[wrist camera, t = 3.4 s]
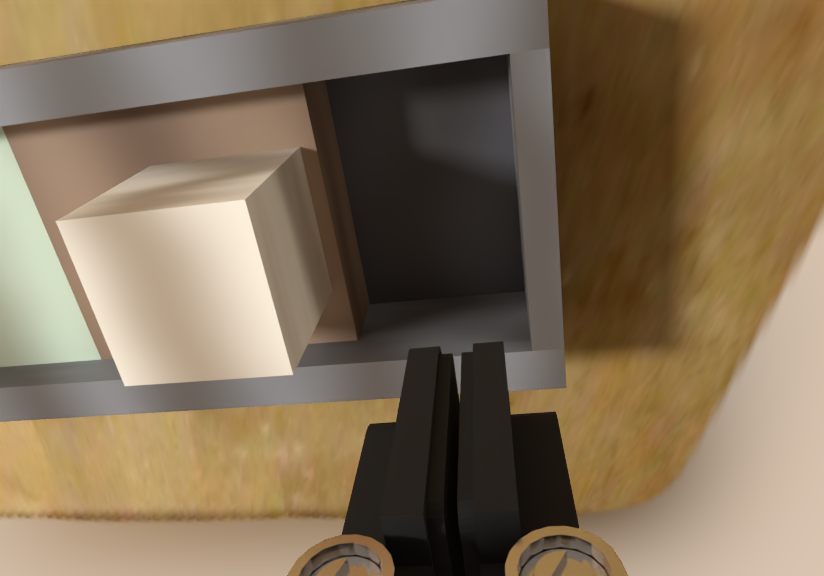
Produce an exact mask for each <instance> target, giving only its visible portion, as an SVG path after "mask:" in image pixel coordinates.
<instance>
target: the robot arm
mask: <svg viewBox="0 0 824 576" xmlns="http://www.w3.org/2000/svg"><path fill="white" fill-rule="evenodd" d="M287 576H628V575H627V572H626V570H625V568H624V566H623V564H622V562H621V560H620V558H619V557H618V555H617V554H616V552H615V551H614V549H613V548H612V547H611V546H610V545H608V544H607V543H606V542H605V541H603V540H602V539H601V538H600V537H598V536H596V535H594V534H592V533H590V532H588V531H585V530H583V529H579V525H578V519H577V514H576V509H575V504H574V499H573V494H572V489H571V484H570V479H569V474H568V469H567V464H566V459H565V454H564V449H563V444H562V439H561V434H560V429H559V424H558V419H557V415H556V412H544V413H529V414H514V415H511V413H510V403H509V393H508V383H507V372H506V362H505V352H504V342H503V341H497V342H485V343H473V352H462V353H461V384H460V402H459V394H458V387H457V380H456V373H455V365H454V358H453V354H452V353H449V354H442V352H441V348H440V346H436V347H424V348H412V349H409V352H408V357H407V363H406V369H405V374H404V380H403V386H402V391H401V397H400V403H399V408H398V414H397V420H396V422H392V423H377V424H370V425H369V426H368V429H367V432H366V435H365V440H364V444H363V448H362V452H361V456H360V461H359V465H358V469H357V473H356V477H355V481H354V486H353V490H352V494H351V498H350V502H349V507H348V511H347V515H346V519H345V523H344V528H343V532H342V535H339V536H336V537H332V538H329V539H326V540H323V541H322V542H320V543H318V544H316V545H315V546H313V547H311V548H310V549H308V550H307V551H306V552H305V553H304V554H303V555H302V556H301V557H299V558H298V560H297V561H296V562H295V564H294V566H293V567H292V568H291V570H290V572H289V573H288V575H287Z"/></svg>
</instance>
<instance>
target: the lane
mask: <svg viewBox="0 0 824 576" xmlns="http://www.w3.org/2000/svg"><path fill="white" fill-rule="evenodd" d="M295 147H300V150H301V154H302V158H303V163H304V167H305V172H306V176H307V180H308V185H309V189H310V194H311V198H312V203H313V207H314V211H315V216H316V220H317V225H318V229H319V233H320V238H321V242H322V247H323V251H324V255H325V260H326V264H327V269H328V273H329V278H330V282H331V286H332V291H333V292H332V294H331V296H330V298H329V300H328V302H327V304H326V306H325V309H324V311H323V313H322V315H321V317H320V319H319V321H318V323H317V325H316V328H315V330H314V332H313V334H312V336H311V338H310V340H309V342H308V345H307V347H306V349H305V351H304V353H303V355H302V357H301V359H300V362H299V364H298V366H297V368H296V370H295V372H294V374H293V375H285V376H270V377H255V378H240V379H226V380H211V381H196V382H181V383H166V384H152V385H137V386H124V383H123V381H122V379H121V376H120V374H119V371H118V369H117V367H116V364H115V362H114V359H113V357H112V355H111V352H110V350H109V347H108V345H107V343H106V340H105V338H104V336H103V333H102V331H101V328H100V326H99V324H98V321H97V319H96V316H95V314H94V312H93V309H92V307H91V305H90V302H89V300H88V297H87V295H86V293H85V290H84V288H83V285H82V283H81V281H80V278H79V276H78V273H77V271H76V269H75V266H74V264H73V262H72V259H71V257H70V254H69V252H68V250H67V247H66V245H65V242H64V240H63V238H62V235H61V233H60V231H59V228H58V226H57V223H56V221H57V220H59V219H60V218H62V217H64V216H65V215H67V214H69V213H71V212H72V211H74V210H76V209H77V208H79V207H81V206H82V205H84V204H86V203H88V202H89V201H91V200H93V199H94V198H96V197H98V196H100V195H101V194H103V193H105V192H106V191H108V190H110V189H112V188H113V187H115V186H117V185H118V184H120V183H122V182H124V181H125V180H127V179H129V178H130V177H132V176H134V175H135V174H137V173H139V172H141V171H142V170H144V169H146V168H147V167H149V166H153V165H161V164H169V163H177V162H184V161H192V160H200V159H208V158H216V157H224V156H232V155H240V154H248V153H256V152H263V151H271V150H279V149H287V148H295ZM497 341H503V342H504V352H505V362H506V372H507V383H508V391H522V390H538V389H555V388H566V372H565V352H564V331H563V311H562V290H561V270H560V249H559V229H558V208H557V188H556V167H555V147H554V126H553V106H552V85H551V65H550V44H549V24H548V3H547V0H408V1H402V2H395V3H389V4H383V5H377V6H371V7H364V8H358V9H352V10H346V11H339V12H333V13H327V14H321V15H314V16H308V17H302V18H296V19H289V20H283V21H277V22H271V23H264V24H258V25H252V26H246V27H239V28H233V29H227V30H221V31H214V32H208V33H202V34H196V35H189V36H183V37H177V38H171V39H164V40H158V41H152V42H146V43H140V44H133V45H127V46H121V47H115V48H108V49H102V50H96V51H90V52H83V53H77V54H71V55H65V56H58V57H52V58H46V59H40V60H33V61H27V62H21V63H15V64H8V65H2V66H0V422H4V421H21V420H38V419H54V418H71V417H88V416H105V415H121V414H138V413H155V412H171V411H188V410H205V409H221V408H238V407H255V406H271V405H288V404H305V403H321V402H338V401H355V400H371V399H388V398H400V397H401V391H402V386H403V380H404V374H405V369H406V363H407V357H408V352H409V349H412V348H424V347H436V346H440V348H441V352H442V354H449V353H452V354H453V358H454V365H455V373H456V380H457V387H458V394H460V384H461V353H462V352H473V343H485V342H497Z"/></svg>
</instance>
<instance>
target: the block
mask: <svg viewBox="0 0 824 576" xmlns="http://www.w3.org/2000/svg"><path fill="white" fill-rule="evenodd" d="M56 223H57V226H58V228H59V231H60V233H61V235H62V238H63V240H64V242H65V245H66V247H67V250H68V252H69V254H70V257H71V259H72V262H73V264H74V266H75V269H76V271H77V273H78V276H79V278H80V281H81V283H82V285H83V288H84V290H85V293H86V295H87V297H88V300H89V302H90V305H91V307H92V309H93V312H94V314H95V316H96V319H97V321H98V324H99V326H100V328H101V331H102V333H103V336H104V338H105V340H106V343H107V345H108V347H109V350H110V352H111V355H112V357H113V359H114V362H115V364H116V367H117V369H118V371H119V374H120V376H121V379H122V381H123V383H124V386H137V385H152V384H166V383H181V382H196V381H211V380H226V379H240V378H255V377H270V376H285V375H293V374H294V372H295V370H296V368H297V366H298V364H299V362H300V359H301V357H302V355H303V353H304V351H305V349H306V347H307V345H308V342H309V340H310V338H311V336H312V334H313V332H314V330H315V328H316V325H317V323H318V321H319V319H320V317H321V315H322V313H323V311H324V309H325V306H326V304H327V302H328V300H329V298H330V296H331V294H332V292H333V291H332V286H331V282H330V278H329V273H328V269H327V264H326V260H325V255H324V251H323V247H322V242H321V238H320V233H319V229H318V225H317V220H316V216H315V211H314V207H313V203H312V198H311V194H310V189H309V185H308V180H307V176H306V172H305V167H304V163H303V158H302V154H301V150H300V147H295V148H287V149H279V150H271V151H263V152H256V153H248V154H240V155H232V156H224V157H216V158H208V159H200V160H192V161H184V162H177V163H169V164H161V165H153V166H149V167H147V168H146V169H144V170H142V171H141V172H139V173H137V174H135V175H134V176H132V177H130V178H129V179H127V180H125V181H124V182H122V183H120V184H118V185H117V186H115V187H113V188H112V189H110V190H108V191H106V192H105V193H103V194H101V195H100V196H98V197H96V198H94V199H93V200H91V201H89V202H88V203H86V204H84V205H82V206H81V207H79V208H77V209H76V210H74V211H72V212H71V213H69V214H67V215H65V216H64V217H62V218H60V219H59V220H57V221H56Z"/></svg>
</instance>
